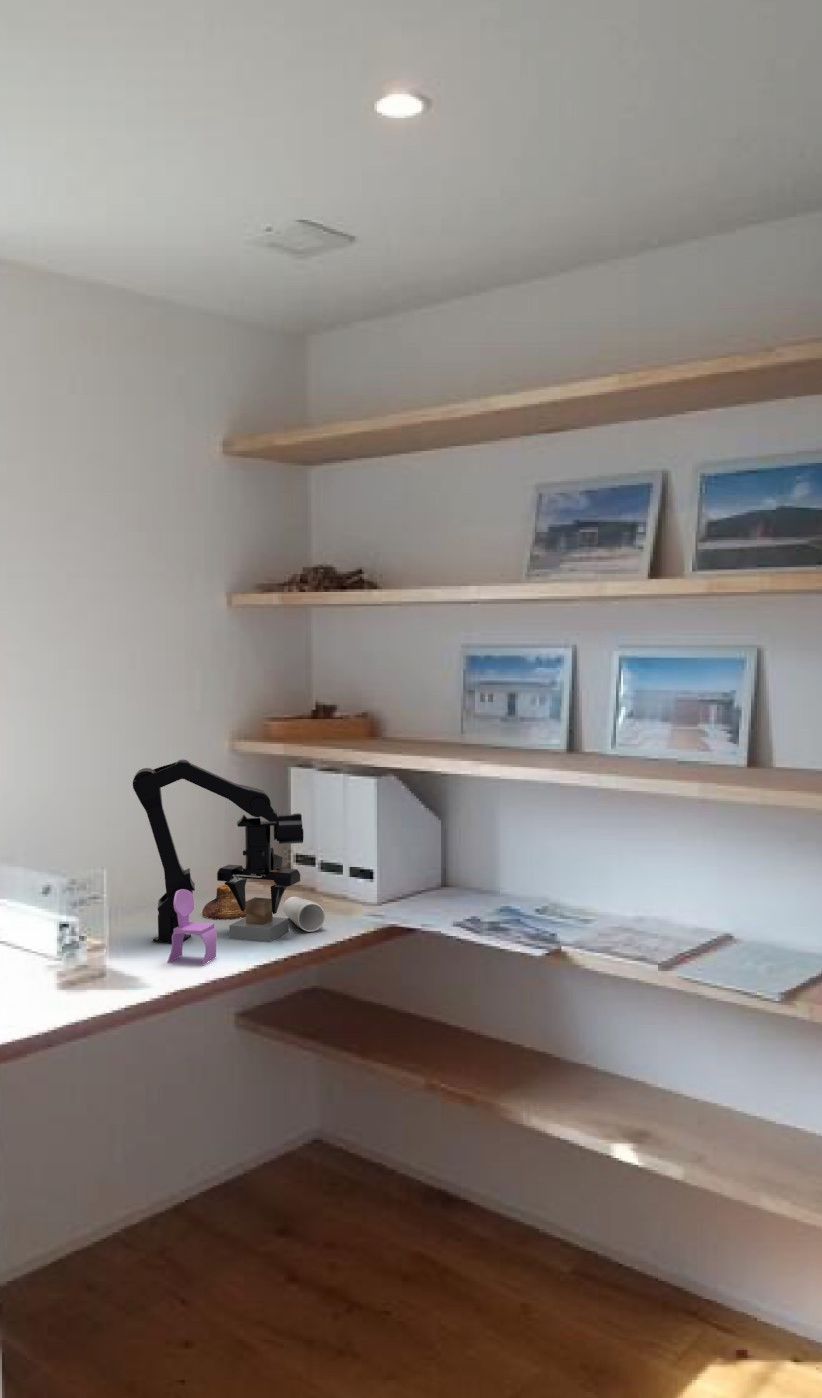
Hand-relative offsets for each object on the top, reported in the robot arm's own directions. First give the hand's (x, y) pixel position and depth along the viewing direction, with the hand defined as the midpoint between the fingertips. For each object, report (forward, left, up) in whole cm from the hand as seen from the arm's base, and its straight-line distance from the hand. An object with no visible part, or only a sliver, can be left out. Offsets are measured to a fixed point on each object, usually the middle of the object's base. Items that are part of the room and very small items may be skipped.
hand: (259, 912), depth 268 cm
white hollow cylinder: (+17, -1, -2) cm, 17 cm away
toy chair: (-23, +4, -6) cm, 24 cm away
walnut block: (0, 0, -2) cm, 2 cm away
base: (0, 0, -5) cm, 5 cm away
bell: (+15, +17, -6) cm, 23 cm away
